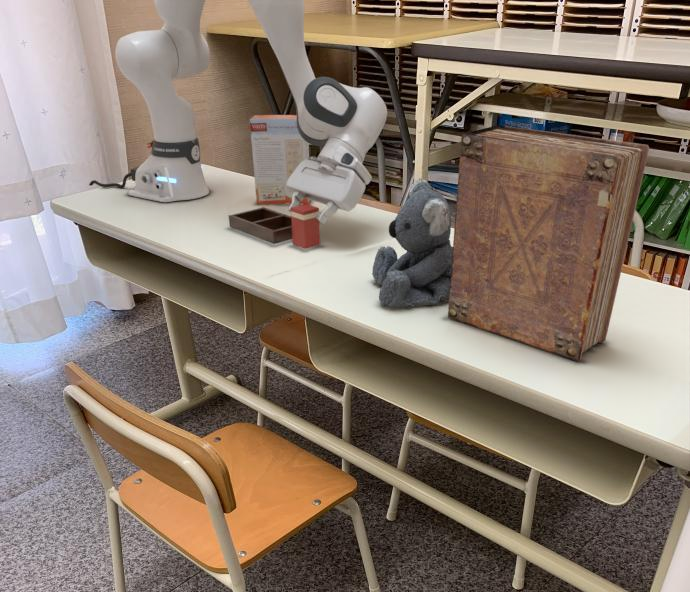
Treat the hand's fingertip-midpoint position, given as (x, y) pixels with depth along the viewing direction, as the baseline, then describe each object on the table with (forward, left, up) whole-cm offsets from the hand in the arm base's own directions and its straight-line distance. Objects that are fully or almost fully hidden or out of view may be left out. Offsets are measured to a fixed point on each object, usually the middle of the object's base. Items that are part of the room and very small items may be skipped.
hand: (305, 217), depth 151 cm
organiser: (-13, +6, -6) cm, 15 cm away
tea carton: (0, 0, -6) cm, 6 cm away
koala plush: (+32, -16, -7) cm, 37 cm away
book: (+54, -26, -7) cm, 60 cm away
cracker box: (-22, +31, -7) cm, 38 cm away
